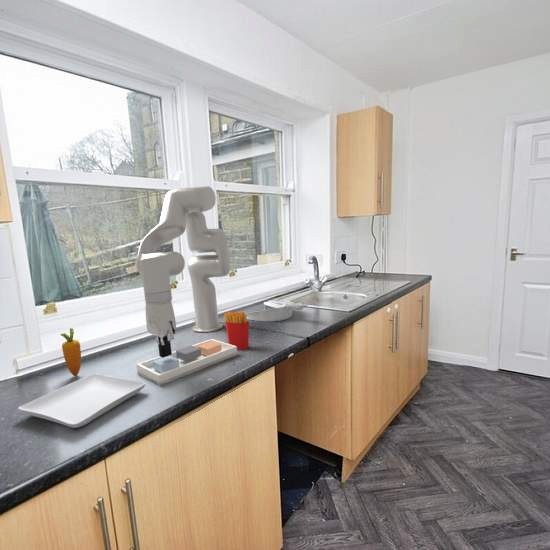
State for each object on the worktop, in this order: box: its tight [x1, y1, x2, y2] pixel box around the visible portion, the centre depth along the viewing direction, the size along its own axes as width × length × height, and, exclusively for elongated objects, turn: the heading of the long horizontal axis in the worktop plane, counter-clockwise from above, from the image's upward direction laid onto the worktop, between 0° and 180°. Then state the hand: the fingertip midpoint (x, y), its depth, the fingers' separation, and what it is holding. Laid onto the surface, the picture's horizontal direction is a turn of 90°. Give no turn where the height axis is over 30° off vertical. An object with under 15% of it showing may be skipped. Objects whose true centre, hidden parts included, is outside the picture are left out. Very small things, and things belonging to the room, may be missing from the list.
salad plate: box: [17, 373, 147, 429], centre depth 88 cm, size 21×21×3 cm
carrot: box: [60, 328, 82, 377], centre depth 106 cm, size 5×5×15 cm
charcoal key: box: [175, 345, 201, 362], centre depth 111 cm, size 6×6×2 cm
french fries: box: [223, 311, 250, 351], centre depth 123 cm, size 9×4×13 cm, turn 61°
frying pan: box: [245, 301, 309, 323], centre depth 157 cm, size 23×33×10 cm
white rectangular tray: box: [136, 338, 238, 387], centre depth 111 cm, size 14×28×3 cm, turn 136°
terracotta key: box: [198, 341, 222, 356], centre depth 116 cm, size 6×6×2 cm
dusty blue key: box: [153, 356, 179, 373], centre depth 105 cm, size 6×6×2 cm
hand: (165, 355), depth 105 cm, fingers closed
